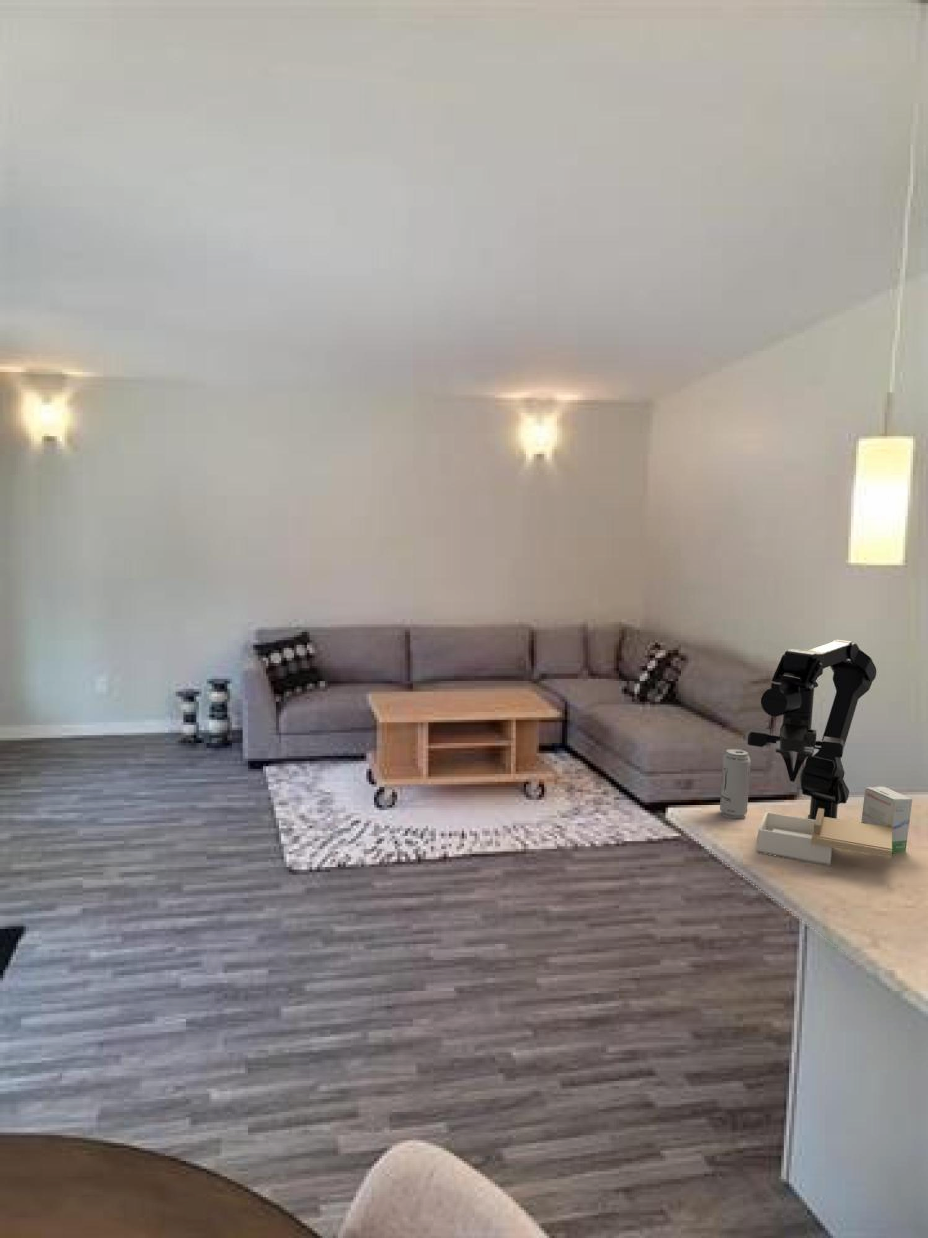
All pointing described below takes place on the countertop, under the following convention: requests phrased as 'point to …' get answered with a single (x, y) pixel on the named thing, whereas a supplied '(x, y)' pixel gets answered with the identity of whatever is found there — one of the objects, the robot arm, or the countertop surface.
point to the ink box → (888, 813)
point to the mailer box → (791, 839)
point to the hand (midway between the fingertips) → (792, 781)
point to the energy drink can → (735, 783)
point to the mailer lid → (852, 835)
